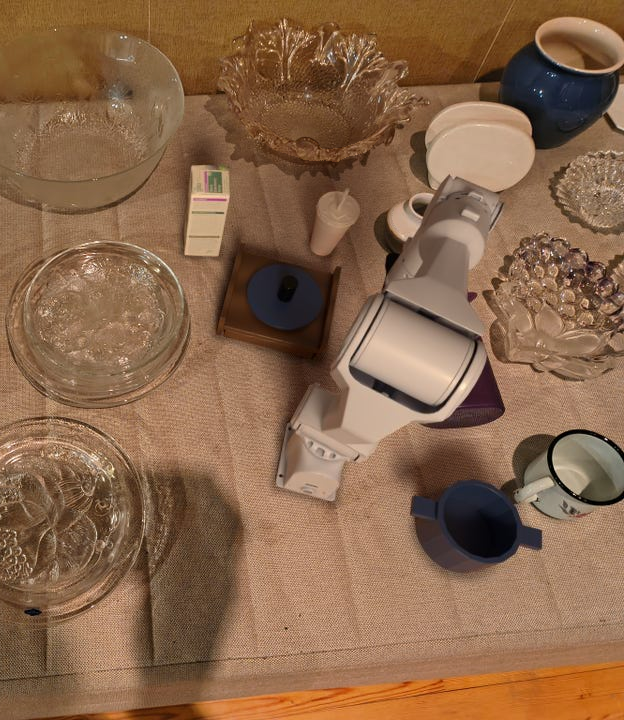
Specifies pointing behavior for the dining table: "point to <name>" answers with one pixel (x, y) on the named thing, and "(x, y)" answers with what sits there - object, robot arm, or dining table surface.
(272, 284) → the lid
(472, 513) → the pot
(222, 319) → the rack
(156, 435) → the dining table surface
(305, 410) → the robot arm
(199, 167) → the syrup box
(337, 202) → the smoothie
